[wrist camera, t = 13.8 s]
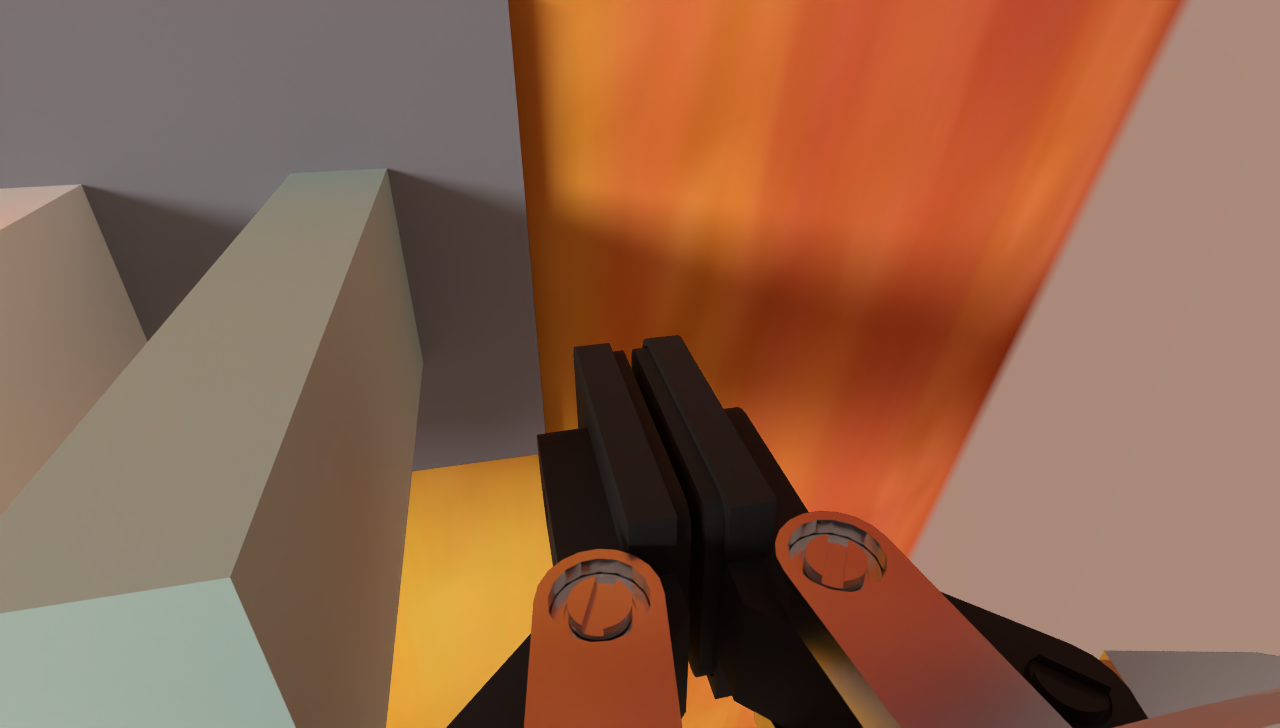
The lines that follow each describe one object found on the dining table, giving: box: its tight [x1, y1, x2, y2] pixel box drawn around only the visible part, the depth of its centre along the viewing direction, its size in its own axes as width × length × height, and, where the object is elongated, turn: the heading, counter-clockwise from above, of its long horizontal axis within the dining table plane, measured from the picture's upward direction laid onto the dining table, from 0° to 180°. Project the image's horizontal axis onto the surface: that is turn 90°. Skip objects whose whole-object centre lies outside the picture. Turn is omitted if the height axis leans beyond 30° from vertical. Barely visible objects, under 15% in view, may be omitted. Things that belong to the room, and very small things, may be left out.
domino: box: [0, 168, 423, 728], centre depth 11 cm, size 2×5×12 cm, turn 1°
